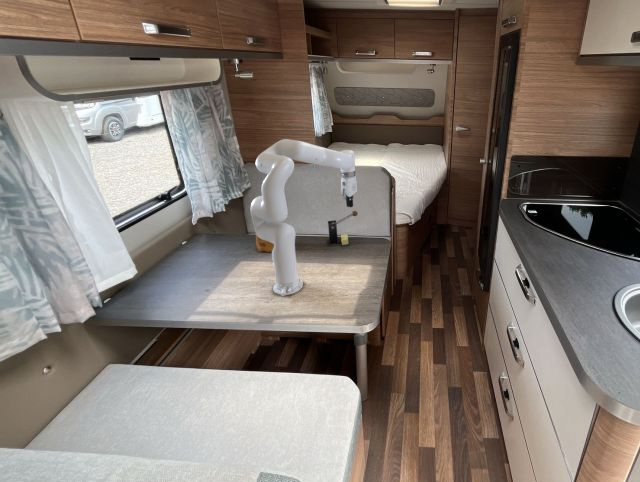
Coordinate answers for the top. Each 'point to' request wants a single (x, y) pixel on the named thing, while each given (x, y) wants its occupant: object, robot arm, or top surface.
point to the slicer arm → (346, 217)
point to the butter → (344, 239)
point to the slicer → (332, 232)
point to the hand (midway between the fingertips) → (349, 206)
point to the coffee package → (264, 245)
